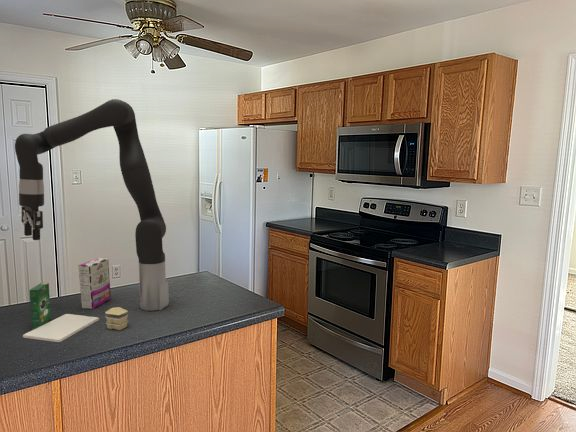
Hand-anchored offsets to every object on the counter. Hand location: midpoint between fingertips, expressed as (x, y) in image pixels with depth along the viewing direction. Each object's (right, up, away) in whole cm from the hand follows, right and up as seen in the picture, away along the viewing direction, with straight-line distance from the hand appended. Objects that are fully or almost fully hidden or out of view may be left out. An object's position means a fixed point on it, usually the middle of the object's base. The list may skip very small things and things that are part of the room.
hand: (32, 237), depth 150 cm
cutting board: (+18, -29, -13) cm, 36 cm away
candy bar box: (+19, -26, +9) cm, 33 cm away
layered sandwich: (+35, -29, -11) cm, 46 cm away
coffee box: (+10, -28, -10) cm, 31 cm away
